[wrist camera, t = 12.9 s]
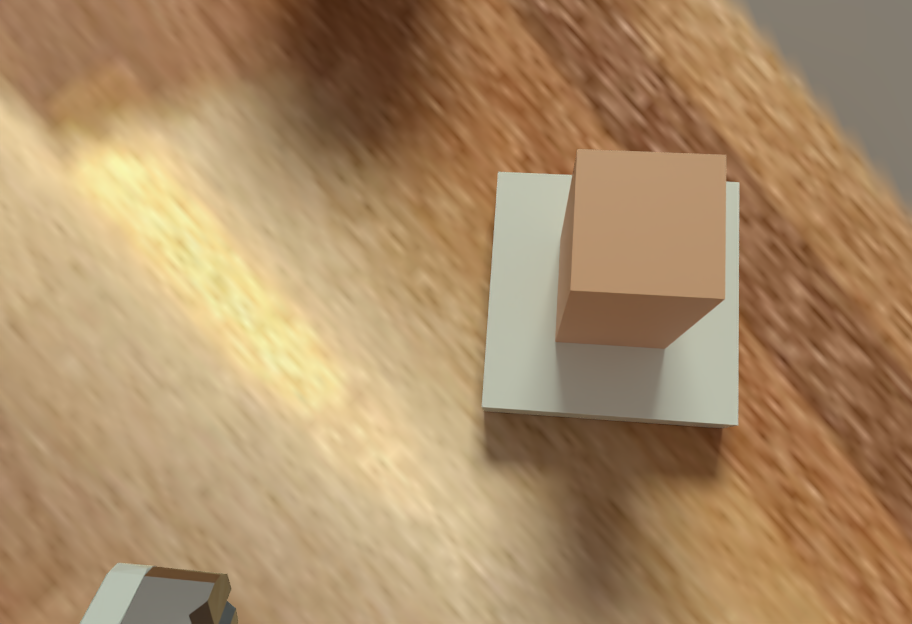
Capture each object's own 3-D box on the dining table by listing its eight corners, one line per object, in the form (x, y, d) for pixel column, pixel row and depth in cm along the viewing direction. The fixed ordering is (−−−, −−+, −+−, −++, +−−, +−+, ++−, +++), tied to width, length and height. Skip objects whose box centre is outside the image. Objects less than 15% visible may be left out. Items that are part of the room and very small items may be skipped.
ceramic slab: (722, 428, 35) (738, 425, 33) (483, 411, 36) (481, 406, 34) (724, 201, 37) (739, 182, 35) (499, 190, 38) (498, 172, 36)
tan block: (664, 348, 34) (725, 299, 24) (555, 341, 34) (570, 290, 24) (667, 243, 35) (726, 154, 25) (560, 238, 35) (577, 149, 25)
